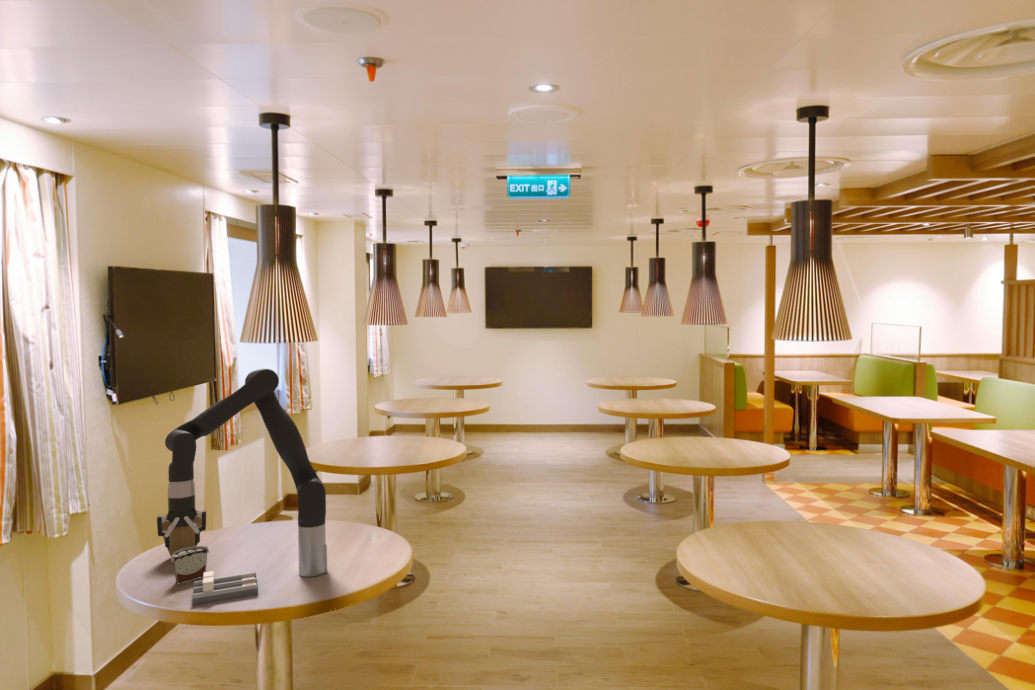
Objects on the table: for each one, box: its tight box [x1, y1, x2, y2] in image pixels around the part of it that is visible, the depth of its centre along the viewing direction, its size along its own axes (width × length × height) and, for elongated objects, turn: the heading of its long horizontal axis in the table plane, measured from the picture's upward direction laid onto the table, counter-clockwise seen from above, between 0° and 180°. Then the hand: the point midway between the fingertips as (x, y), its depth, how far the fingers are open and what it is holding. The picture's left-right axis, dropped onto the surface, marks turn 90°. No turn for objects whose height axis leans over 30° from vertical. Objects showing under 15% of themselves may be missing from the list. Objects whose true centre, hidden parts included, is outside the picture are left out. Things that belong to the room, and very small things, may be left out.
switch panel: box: [191, 572, 259, 605], centre depth 210 cm, size 19×12×3 cm, turn 115°
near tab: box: [202, 576, 215, 592], centre depth 205 cm, size 3×4×4 cm
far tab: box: [202, 570, 215, 579], centre depth 210 cm, size 3×4×4 cm
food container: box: [170, 545, 210, 585], centre depth 223 cm, size 12×6×10 cm, turn 141°
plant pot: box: [162, 509, 202, 557], centre depth 245 cm, size 15×15×16 cm
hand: (182, 546), depth 202 cm, fingers open, 7 cm apart
